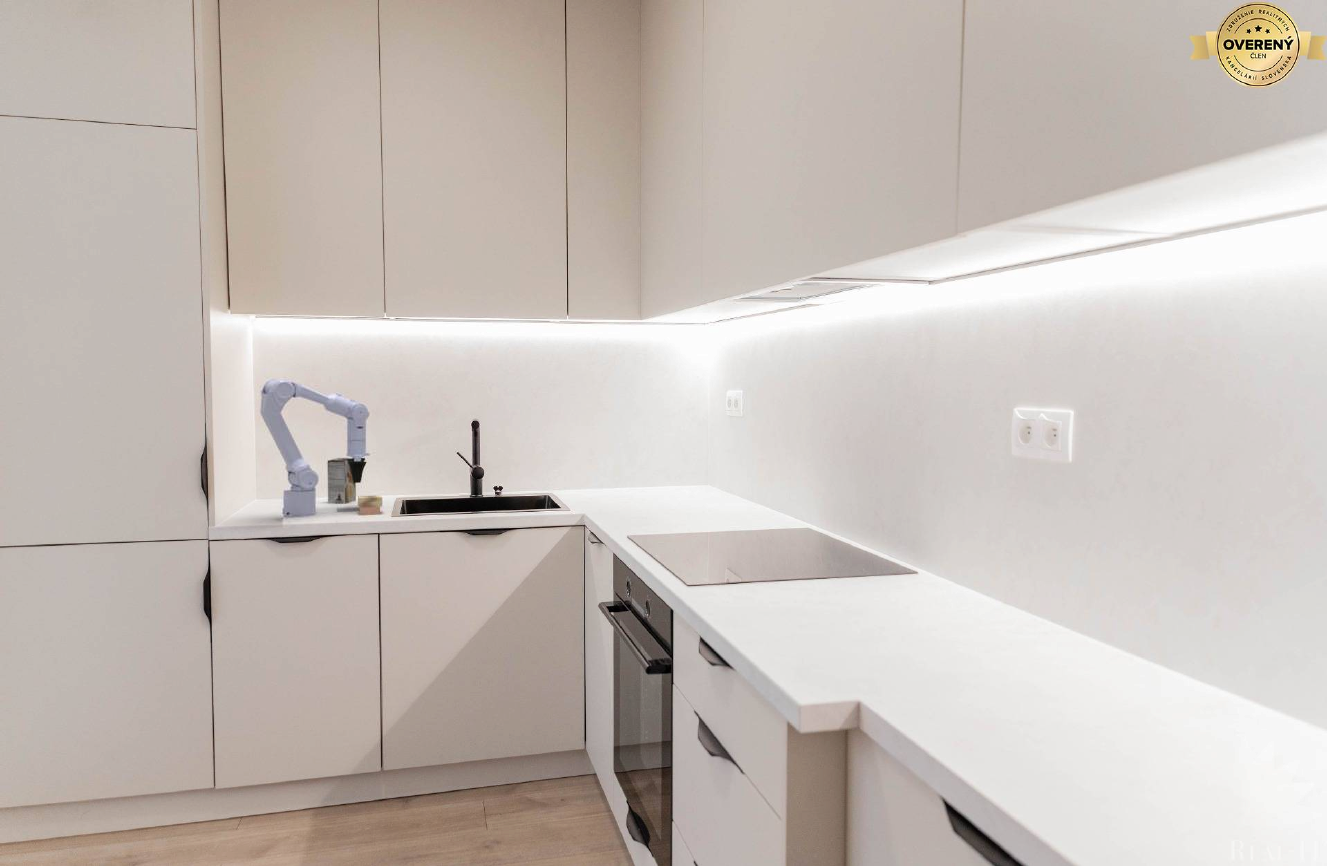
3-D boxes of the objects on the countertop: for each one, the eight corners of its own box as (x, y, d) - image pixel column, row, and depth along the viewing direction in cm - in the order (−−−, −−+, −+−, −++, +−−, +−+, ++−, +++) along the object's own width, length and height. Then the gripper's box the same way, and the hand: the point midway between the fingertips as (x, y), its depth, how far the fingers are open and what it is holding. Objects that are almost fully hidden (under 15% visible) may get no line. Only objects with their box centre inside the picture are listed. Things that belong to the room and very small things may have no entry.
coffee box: (338, 502, 288) (338, 457, 287) (356, 503, 288) (356, 458, 287) (327, 506, 279) (327, 460, 278) (345, 507, 279) (345, 460, 278)
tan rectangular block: (358, 507, 257) (358, 498, 257) (357, 505, 262) (357, 496, 262) (382, 506, 260) (382, 497, 260) (380, 504, 265) (380, 495, 265)
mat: (337, 515, 262) (337, 511, 262) (336, 512, 269) (336, 508, 268) (367, 514, 266) (367, 510, 266) (365, 511, 272) (365, 507, 272)
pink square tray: (360, 518, 257) (360, 507, 257) (359, 515, 263) (359, 504, 263) (380, 517, 260) (380, 507, 259) (378, 514, 265) (378, 504, 265)
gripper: (370, 441, 262) (370, 483, 263) (368, 438, 275) (368, 478, 276) (347, 441, 259) (347, 484, 260) (345, 438, 273) (345, 478, 273)
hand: (356, 481), depth 268 cm, fingers open, 7 cm apart
